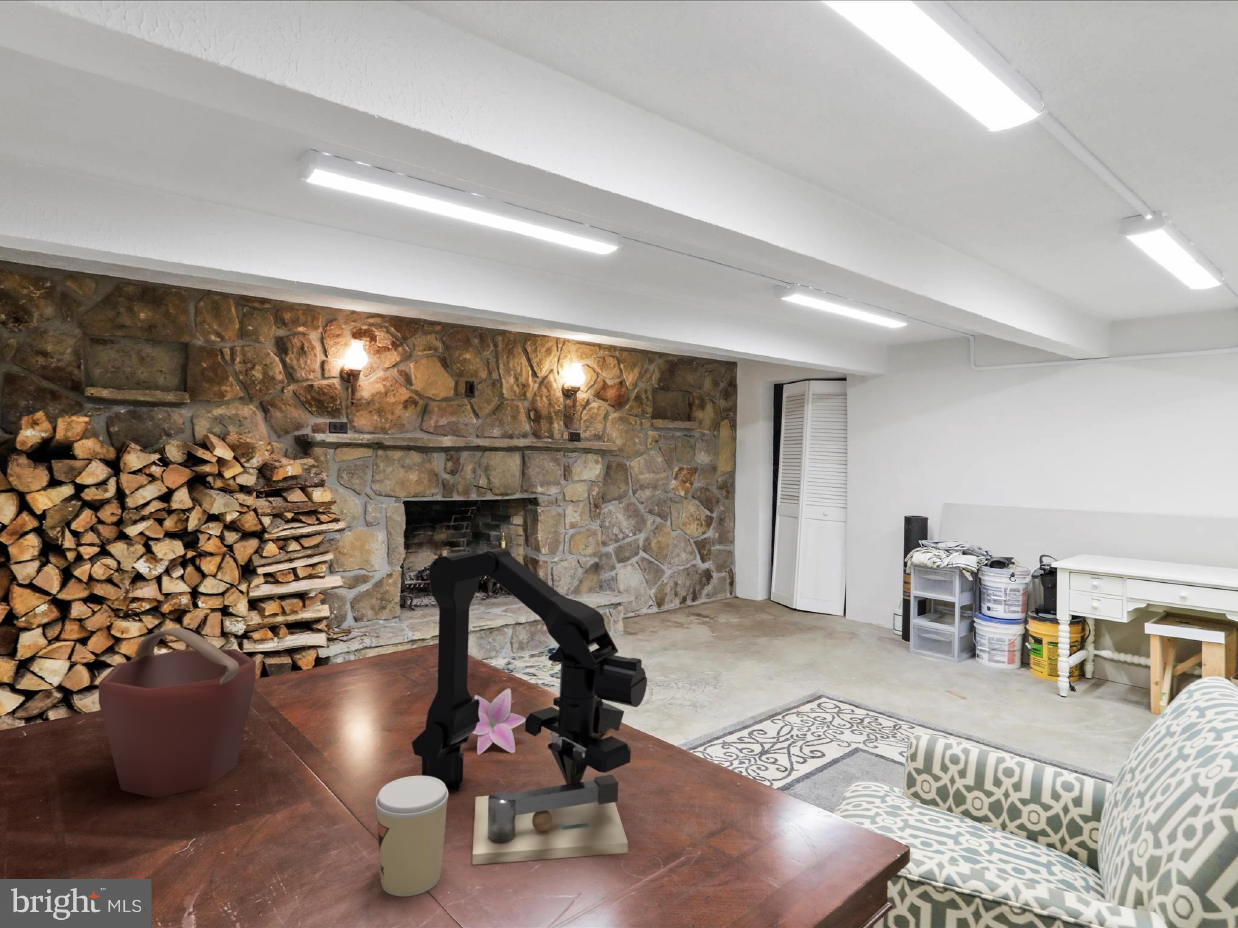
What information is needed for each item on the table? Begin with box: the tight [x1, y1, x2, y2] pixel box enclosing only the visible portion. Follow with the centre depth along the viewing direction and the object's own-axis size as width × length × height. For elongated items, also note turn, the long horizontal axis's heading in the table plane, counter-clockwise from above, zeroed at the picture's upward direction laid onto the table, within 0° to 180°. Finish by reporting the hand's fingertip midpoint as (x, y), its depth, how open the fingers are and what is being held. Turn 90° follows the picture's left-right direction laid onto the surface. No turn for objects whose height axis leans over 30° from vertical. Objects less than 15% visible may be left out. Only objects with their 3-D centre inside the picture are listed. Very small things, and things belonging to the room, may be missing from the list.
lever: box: [488, 774, 619, 843], centre depth 106 cm, size 20×4×6 cm, turn 110°
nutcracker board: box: [471, 795, 629, 866], centre depth 108 cm, size 22×16×4 cm
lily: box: [471, 688, 527, 755], centre depth 138 cm, size 12×12×10 cm
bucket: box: [98, 627, 257, 799], centre depth 122 cm, size 24×22×25 cm
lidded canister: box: [375, 775, 449, 898], centre depth 95 cm, size 9×9×12 cm
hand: (573, 791), depth 110 cm, fingers closed
